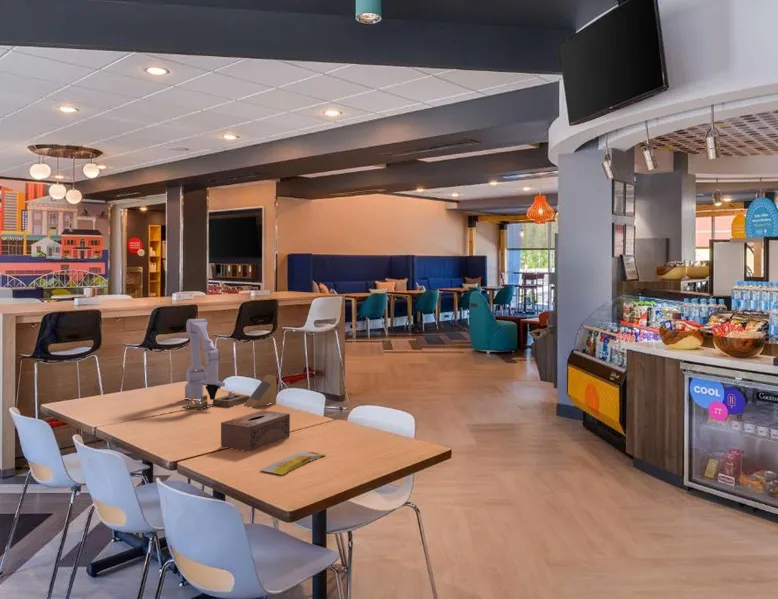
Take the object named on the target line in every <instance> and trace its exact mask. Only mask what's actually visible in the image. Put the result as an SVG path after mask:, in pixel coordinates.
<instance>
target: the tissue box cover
mask: <svg viewBox="0 0 778 599" xmlns="http://www.w3.org/2000/svg"><path fill="white" fill-rule="evenodd" d="M290 418H291V415H290V413H288V412H287V413H286V412H279V411H278V412H277V411H272V410H266V409H265V410H264V409H262V410H259V411H256V412H252V413H249V414H248V413H247V414H245V415H242V416H238V417H236V418H231V419H228V420H225V421H221V422H220V447H221V446H222V447H221V448H225V447H227V448H226V449H230V448H233V449H232V450H236V449H238V450H237V451H241V450H244V451H243V452H247V451H251V452H253V451H256V450H258V449H257V448H259V449H261V448H263V447H262V446H264V447H266V446H268V444H269V445H271V444H270V443H272V444H274V443H276V441H277V442H279V440H280V441H281V439H282V440H284V438H285V439H287V438H289V436H291V434H290V432H291V431H290V430H291V429H290V428H291V424H290V423H291V422H290V421H291V419H290ZM286 437H287V438H286ZM273 442H274V443H273ZM265 445H266V446H265ZM260 447H261V448H260ZM255 449H256V450H255ZM252 450H253V451H252Z"/></svg>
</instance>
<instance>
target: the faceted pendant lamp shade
mask: <svg viewBox="0 0 778 599" xmlns="http://www.w3.org/2000/svg"><path fill="white" fill-rule="evenodd" d="M208 404H209V403H208V395H207V394H203V396H201V402H196V400H193V401H191V400H188V405H189V406H190V407H203V406H207V405H208Z"/></svg>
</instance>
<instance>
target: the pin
mask: <svg viewBox="0 0 778 599" xmlns="http://www.w3.org/2000/svg"><path fill="white" fill-rule="evenodd" d="M227 393H228V400H230V399H233V398H234V394H235V391H228V392H227Z"/></svg>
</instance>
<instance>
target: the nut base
mask: <svg viewBox="0 0 778 599" xmlns="http://www.w3.org/2000/svg"><path fill="white" fill-rule="evenodd" d="M190 401H193V395H191V400H190ZM196 402H201V400H196ZM211 405H214V404H213V403H208V405H207V406H211ZM207 406H203V407H190V406H189V404H187V405H186V404H185V405H183V406H182V407H189V408H196V409H195V410H197V409H200V410H202V409H201V408H204V407H207ZM214 406H215V405H214ZM211 407H212V406H211ZM189 408H188V409H189ZM207 408H208V407H207ZM204 409H205V408H204Z"/></svg>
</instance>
